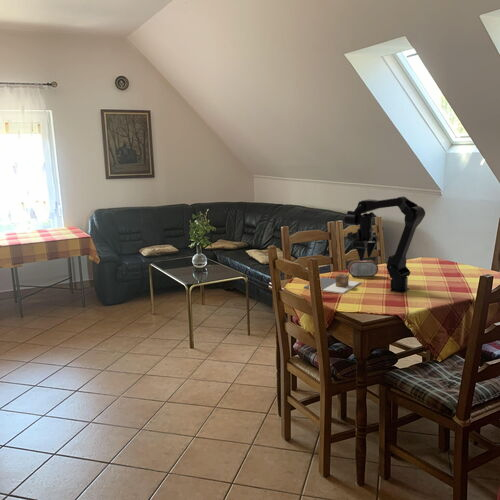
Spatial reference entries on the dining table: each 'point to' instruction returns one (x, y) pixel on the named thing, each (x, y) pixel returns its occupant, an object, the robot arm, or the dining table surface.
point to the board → (334, 285)
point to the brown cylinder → (342, 280)
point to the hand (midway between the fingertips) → (365, 258)
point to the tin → (363, 268)
